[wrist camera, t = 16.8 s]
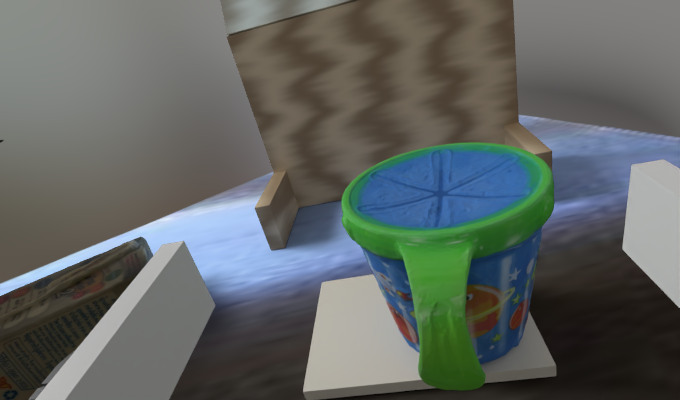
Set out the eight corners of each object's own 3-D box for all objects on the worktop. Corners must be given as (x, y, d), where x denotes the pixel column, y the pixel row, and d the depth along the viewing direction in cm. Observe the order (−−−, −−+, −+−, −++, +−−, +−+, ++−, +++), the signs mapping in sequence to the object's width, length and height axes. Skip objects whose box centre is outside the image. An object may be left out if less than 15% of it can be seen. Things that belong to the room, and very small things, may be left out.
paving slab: (306, 400, 23) (302, 391, 23) (324, 289, 32) (322, 282, 32) (556, 376, 21) (556, 365, 21) (501, 263, 30) (501, 255, 30)
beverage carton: (184, 322, 34) (149, 259, 31) (-97, 477, 26) (-177, 414, 23) (169, 281, 40) (139, 227, 37) (-59, 396, 33) (-118, 340, 30)
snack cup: (403, 248, 33) (380, 135, 29) (544, 249, 29) (542, 116, 24) (341, 424, 21) (283, 272, 16) (572, 473, 16) (578, 283, 12)
